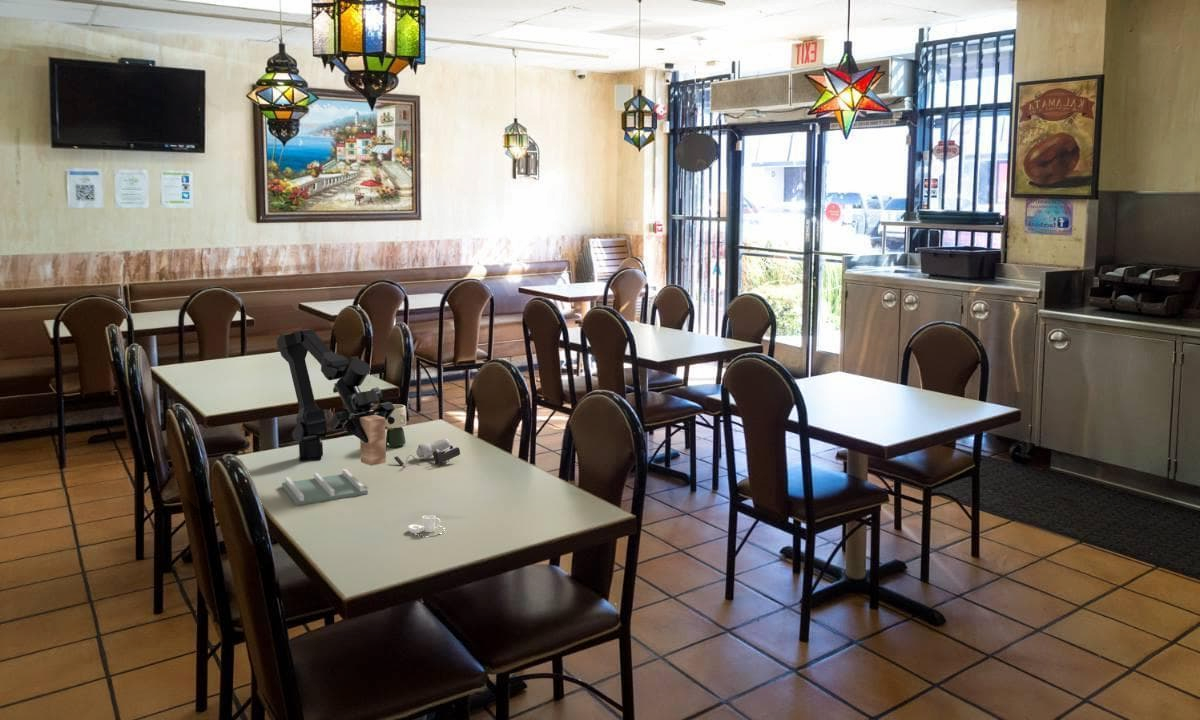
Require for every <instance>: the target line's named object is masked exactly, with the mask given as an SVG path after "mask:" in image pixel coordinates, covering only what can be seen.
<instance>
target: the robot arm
mask: <svg viewBox="0 0 1200 720" xmlns="http://www.w3.org/2000/svg"><path fill="white" fill-rule="evenodd" d="M276 344H277V348H278V350H279V352H280V356H281V358H283V359H284V360H285V361H286V362H287V363H288V365H289V371H290V374H291V379H292V383H293V387H294V391H295V396H296V400H297V404H298V408H299V409H298V413H297V416H296V417H295V418H296V419H295V420H296V426H295V428H294V429H293V431H292V432H291V435H292V440H293V441H295V442H298V453H299V457H298V461H299V462H308V461H309V462H310V461H320V460H322V457H323V456H324V449H323V448H324V446H323V445H324V442H323V441H321V439H322V438H323V439H324V438H326V437H327V430H328V420H327V418H326V415H325V414H326V413H325V410H324V409H323V408H319V407H318V405H317V404H316V401H315V396H314V392H313V387H312V384H311V379H310V375H309V370H308V367H307V362H306V357H307V355H308V353H309V354H310V355H311V356H312V357H313V358H314V359H315V360H316V361H317V362H318V363H319V364H320V371H321V373H322V374H323V377H324V378H325V379H326V380H328V381H334V380H337V381H336V382H335V383H334V387H333V389H332V393H333V394H335V393H338V395H339V397H340V398H341V401H342V403H343V404H342V405H341V406H342V408H343V409H346V410H343V411H342V410H341V411H337V412H335V413H334V414H333V417H332V418H331V419H330V421H329V427H330V428H331V431H332V432H335V431H341V430H342V431H343V432H347V433H349V434H351V435H353V436H354V437H356V438H358V439H359V440H360V439H361V440H362V441H364V442H365V443H368V438H367V436H366V434H365V432H364V430H363V428H362V426H361V425H360V417H365V416H371V415H378V416H381V417H384V418H385V420H386V419H388V418H389V416H390V415H391V414H392V412H393V411H394V409H395V407H394V406H393V403H392V402H390V401H387V402H382V403H378V405H377V406H376V408H375V409H371V408H373V407H374V403H376V402H379V399H381V398H383V393H382V391H381V389H380V388H379V387H378V386H377V387H373V388H371V389H370V390H367V391H361V389H360V387H359V386H361V385H362V384H363V382H364V381H365V379H366V378H367V376H368V375H369V373H370V372H371V367H370V364H368V363H367V362H366V361H365V360H362V359H359V357H358V356H352V357H350V358H349V359H348V358H347V357H345V356H343V355H342V354H339V353H335V352H333V350H331V348H329V347H328V346H327V345H326V343H325V342H323V340H322V339H321V338H320V337H319V336H318V335H317V333H316V331H315V330H314V329H312V328H306V329H299V330H297V331H294V332H290V333H283V334H280V336H279V338H278V339H277V341H276ZM343 426H344V427H343Z"/></svg>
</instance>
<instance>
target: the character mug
mask: <svg viewBox="0 0 1200 720" xmlns="http://www.w3.org/2000/svg"><path fill="white" fill-rule="evenodd" d="M392 404H393V403H392ZM393 406H394V407H395V409H394V411H393V412H392V414H391V415H390V416H389V418H388V419H386V420H385V428H387V430H386V433H385V435H386V447H387V446H388V447H393V448H394V447H395V448H396V447H398V448H399V447H400V446H403V445H405V444H406V436H405V431H404V428H403V427H405V426H406V425H407V415H406V413H407V410H406V405H404V404H399V403H398V404H397V403H396V404H393Z"/></svg>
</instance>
